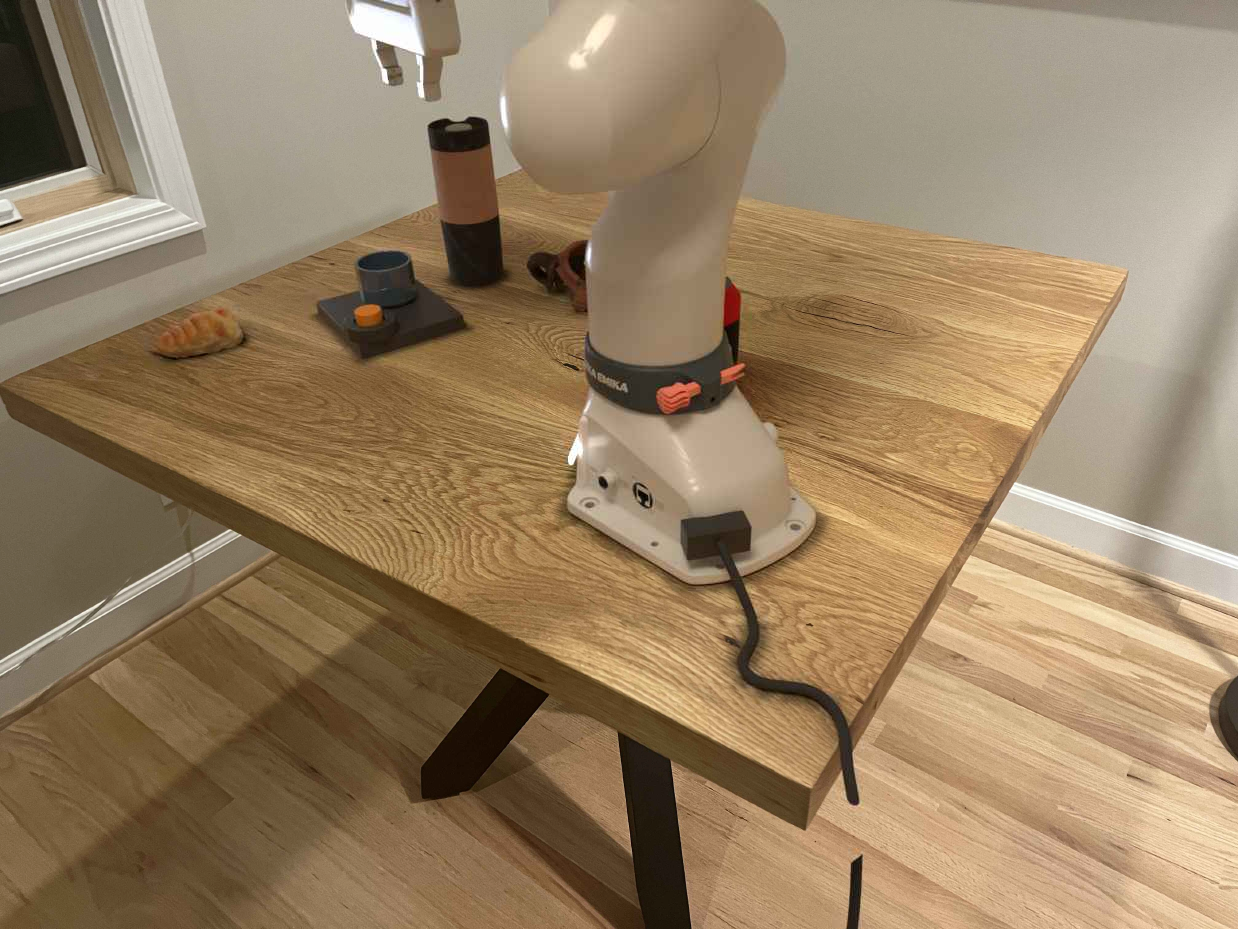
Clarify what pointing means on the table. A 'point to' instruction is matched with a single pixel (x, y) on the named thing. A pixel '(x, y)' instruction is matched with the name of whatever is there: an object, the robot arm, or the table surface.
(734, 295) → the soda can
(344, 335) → the scale
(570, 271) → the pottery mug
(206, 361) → the table surface
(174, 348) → the pastry
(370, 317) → the button
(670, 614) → the table surface
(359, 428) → the table surface
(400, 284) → the bowl
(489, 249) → the travel mug
